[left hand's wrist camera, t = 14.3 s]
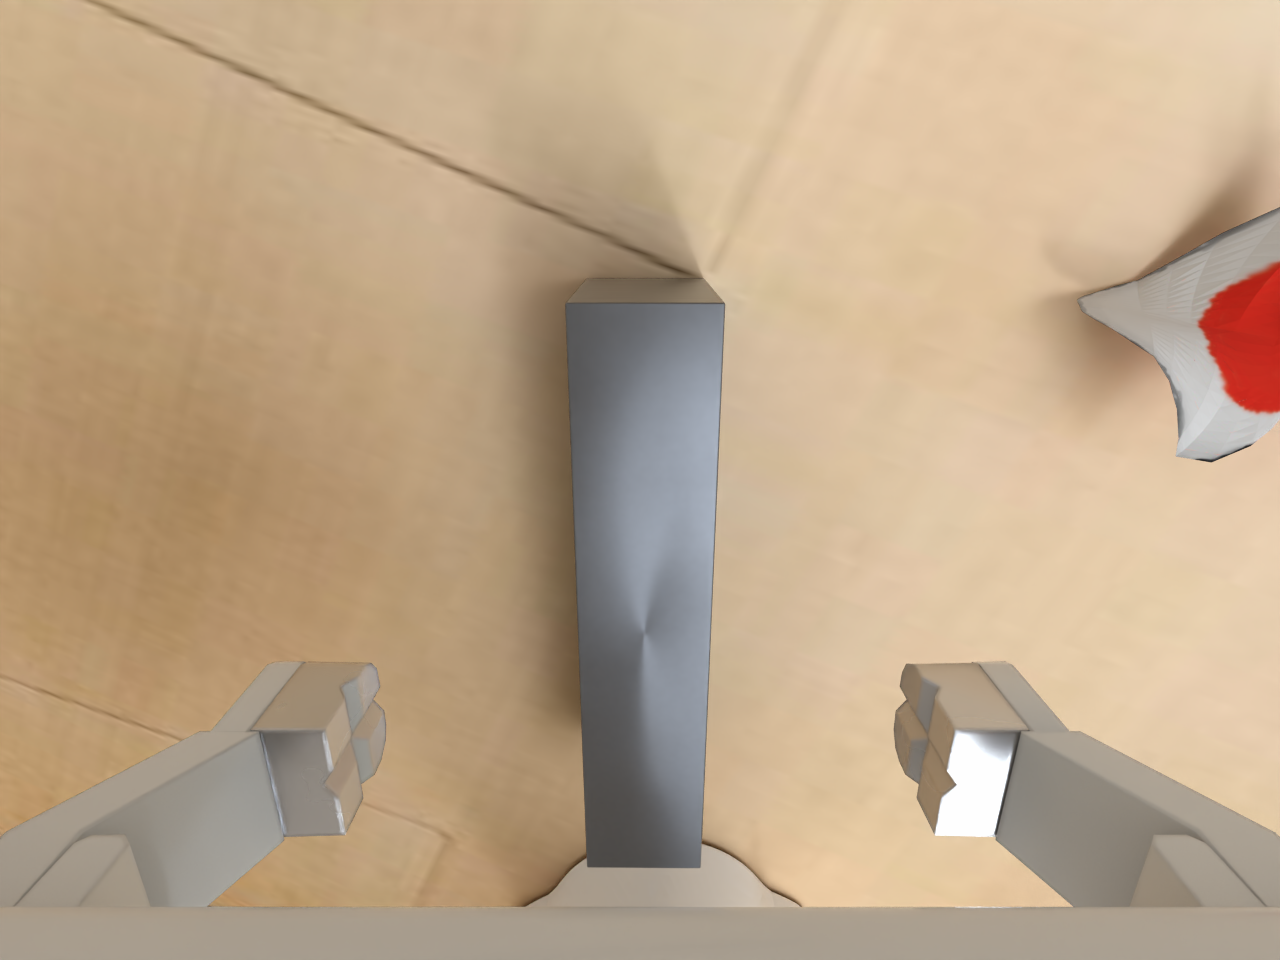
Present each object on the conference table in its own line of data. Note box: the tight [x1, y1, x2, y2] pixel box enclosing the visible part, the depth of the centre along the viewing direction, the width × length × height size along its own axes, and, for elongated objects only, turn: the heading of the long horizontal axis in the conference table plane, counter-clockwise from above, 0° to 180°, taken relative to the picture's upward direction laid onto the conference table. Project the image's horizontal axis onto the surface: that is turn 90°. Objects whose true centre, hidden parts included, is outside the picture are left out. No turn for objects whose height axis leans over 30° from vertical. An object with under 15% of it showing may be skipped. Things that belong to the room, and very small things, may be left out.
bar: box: [565, 278, 725, 868], centre depth 31 cm, size 26×5×9 cm, turn 0°
